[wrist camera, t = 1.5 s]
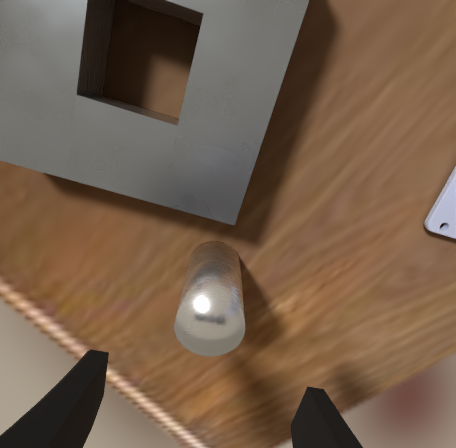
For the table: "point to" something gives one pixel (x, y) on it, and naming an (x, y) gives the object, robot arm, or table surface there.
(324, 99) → the table surface
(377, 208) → the table surface
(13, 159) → the square hole block
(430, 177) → the table surface
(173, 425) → the table surface
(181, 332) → the metal cylinder
